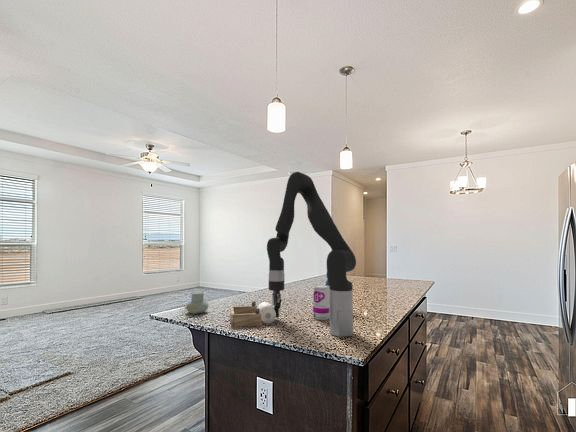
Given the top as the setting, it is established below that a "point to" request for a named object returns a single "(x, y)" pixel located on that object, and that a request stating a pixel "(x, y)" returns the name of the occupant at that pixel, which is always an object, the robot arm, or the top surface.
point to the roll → (267, 312)
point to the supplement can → (321, 302)
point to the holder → (245, 315)
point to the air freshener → (197, 303)
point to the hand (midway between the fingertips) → (276, 316)
